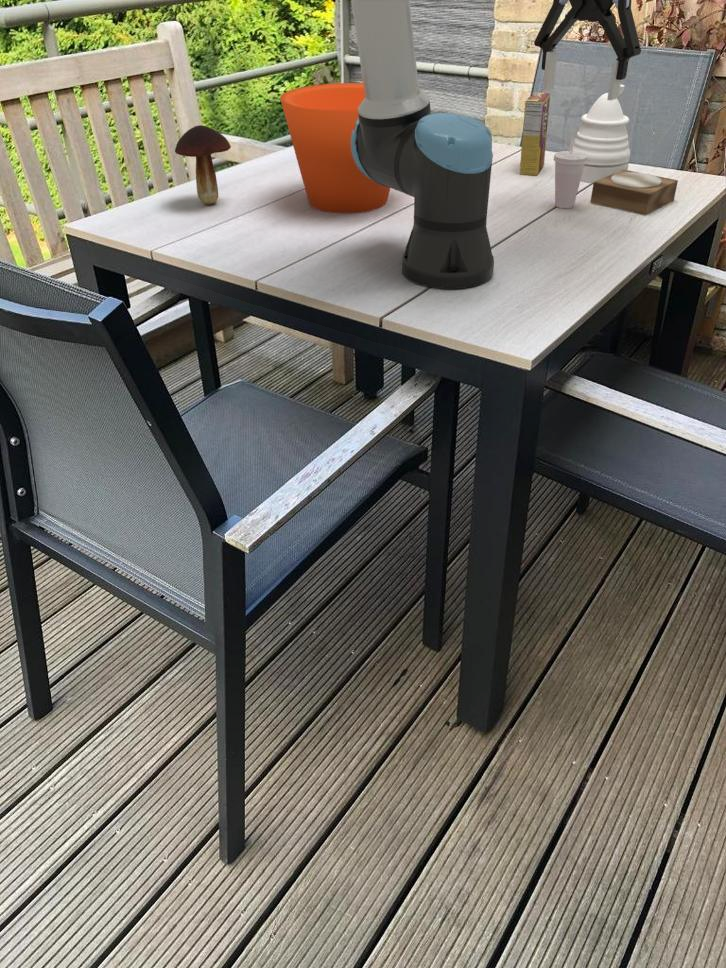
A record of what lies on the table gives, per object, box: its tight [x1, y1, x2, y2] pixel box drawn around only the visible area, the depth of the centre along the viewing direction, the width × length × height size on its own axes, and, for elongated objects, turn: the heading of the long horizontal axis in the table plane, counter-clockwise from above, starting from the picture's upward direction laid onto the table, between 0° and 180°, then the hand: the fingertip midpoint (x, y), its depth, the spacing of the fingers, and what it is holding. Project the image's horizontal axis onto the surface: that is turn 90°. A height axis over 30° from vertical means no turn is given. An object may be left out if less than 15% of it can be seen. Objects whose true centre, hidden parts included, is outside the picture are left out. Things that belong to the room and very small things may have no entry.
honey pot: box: [573, 84, 631, 184], centre depth 176 cm, size 13×13×18 cm
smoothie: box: [553, 129, 587, 209], centre depth 161 cm, size 6×6×14 cm
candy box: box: [519, 92, 551, 177], centre depth 181 cm, size 9×4×15 cm, turn 160°
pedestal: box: [590, 169, 679, 216], centre depth 165 cm, size 12×12×4 cm
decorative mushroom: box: [174, 125, 232, 205], centre depth 164 cm, size 11×11×15 cm
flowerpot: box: [279, 82, 391, 214], centre depth 163 cm, size 25×25×20 cm
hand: (579, 94), depth 153 cm, fingers open, 13 cm apart
